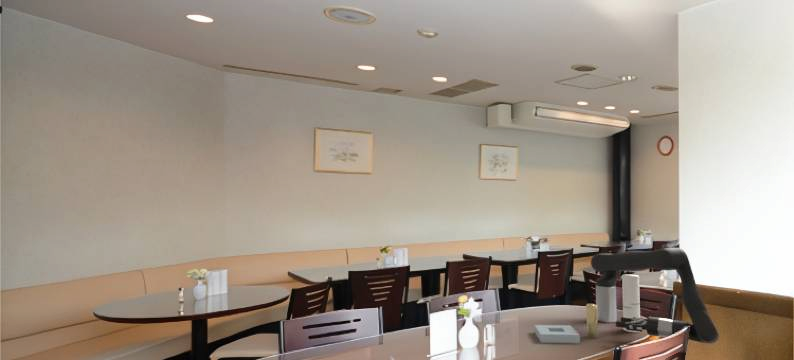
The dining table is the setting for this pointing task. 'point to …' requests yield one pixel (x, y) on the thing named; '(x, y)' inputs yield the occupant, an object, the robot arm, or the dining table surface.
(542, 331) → the jig
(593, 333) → the yellow tall cylinder
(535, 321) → the dining table surface
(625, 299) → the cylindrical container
